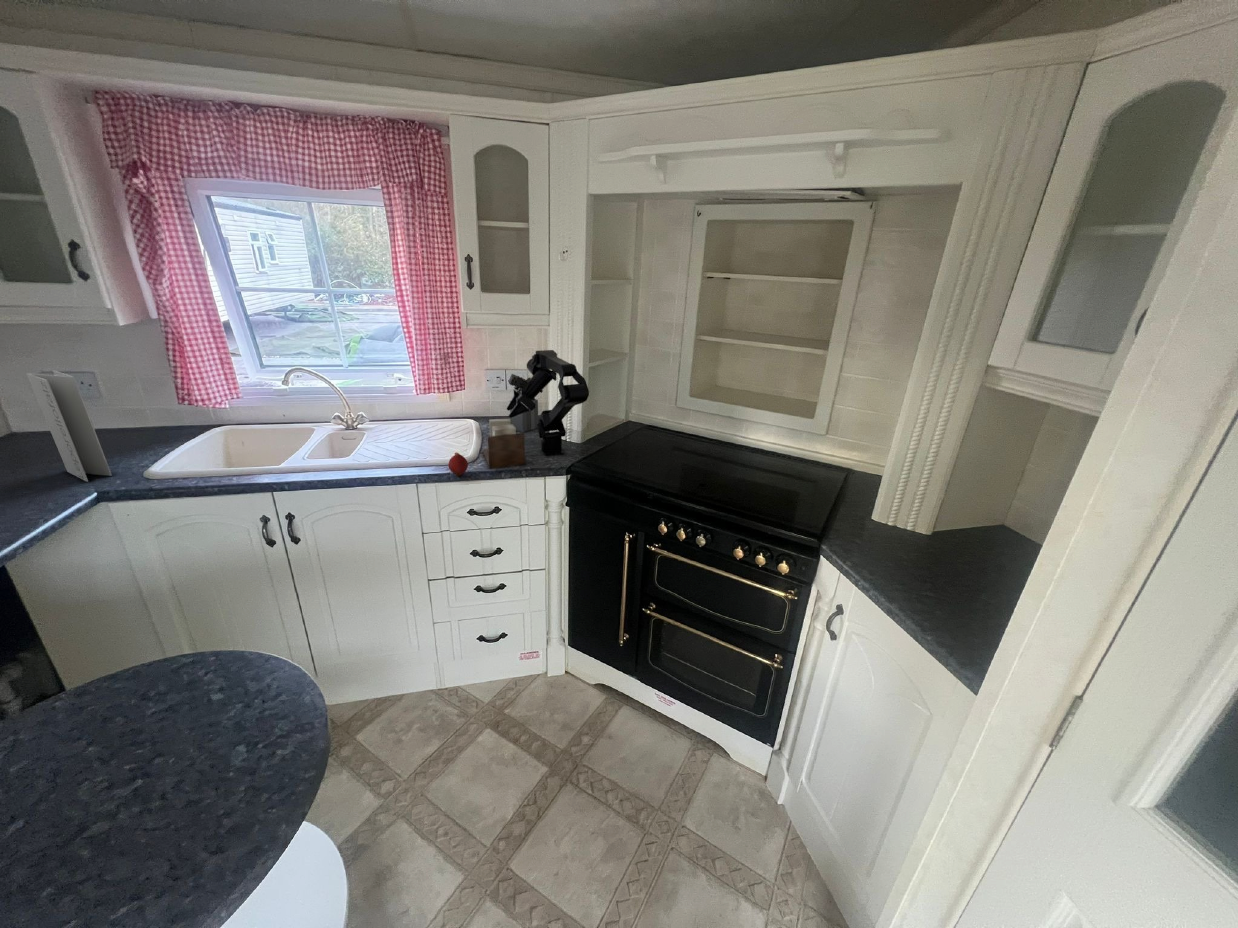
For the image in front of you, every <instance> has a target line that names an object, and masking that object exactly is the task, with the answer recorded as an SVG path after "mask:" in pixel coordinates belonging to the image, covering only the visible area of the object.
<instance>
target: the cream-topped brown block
mask: <svg viewBox="0 0 1238 928" xmlns="http://www.w3.org/2000/svg"><path fill="white" fill-rule="evenodd" d="M492 429H493V436H490V435H487V436H486V439H487V440H486V441H487V442H486V443H487V448H486V449H482V454H483V457H484V460H485V461H486V463H487V466H488V469H499V468H507V467H515V466H517V467H518V466H525V465H526V449H525V448H526V447H525V434H524V433H525V432H521V433H517V431H516V428H515V426H514V425H513V424H511V425H499V426H492Z"/></svg>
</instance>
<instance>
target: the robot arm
mask: <svg viewBox="0 0 1238 928" xmlns="http://www.w3.org/2000/svg"><path fill="white" fill-rule="evenodd" d="M526 369H527V370H528V372H529V373H530V374H531V377H527V378H526V379H525V378H523V376H519V375H517V374H514V373H511V374H510V376H509V379H508V385H510V386H512V387H513V391H512V392H513V396H512V398H511V400H509V403H508V405H507V407H506V410H507V411H509V412H510V410H511V409H513V410H512V411H511V413H509V414H508V417H509V419H511V418H512V417H514V416H517V415H519V414H522V413H525V412H528V411H530V410H531V411H532V410H533V409H534V408H535V402H534V400H535V399H536V397H537V396H538V395H539V394H542V393H543V392H544V389H545V388H546V387H547V386H548V385H549V383H551V382H552V380H553V381H554V382H556V381H557V375H558V376H559V381H558V385H557V389H558V392H559V394H560V397H561V398H560V399H558V401H557V402H556V404H555V405H554V406H553V408H552V409H547V410H546V409H545V410H542V411H541V413H540V414H539V416H538V421H537V427H538V428H537V432H538V437H539V439H541V442H540V443H541V451H542V453H543V454H544V455H545V456H555V455H563V454H564V451H563V447H562V446H563V444H562V442H563V438H562V437H566V434H567V431H566V428H565V425H564V422H563V420H564V418H565V417H566V416H567V415H568V414H569V413H570V412H571V410H572V409H573V408H574V407H575V406H577V405H581V404H583V403H585V402H587V400H588V399H589V396H590V390H589V386H588V384H587V381H586V378H585V377H583V375H582V374H580V372H579V371H578V369H577V365H576V364H573V363H570V362H568V361H566V360H564V359H562V358H560V357H558V353H557V352H556V351H555V350H554V349H542V350H535V353H534V354H533V355H531V358H530V359H529V360H528V361H527V363H526ZM567 377H572V379H573V380H574V381H575V382H576V383H572V384H565V383H564V378H567Z"/></svg>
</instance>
